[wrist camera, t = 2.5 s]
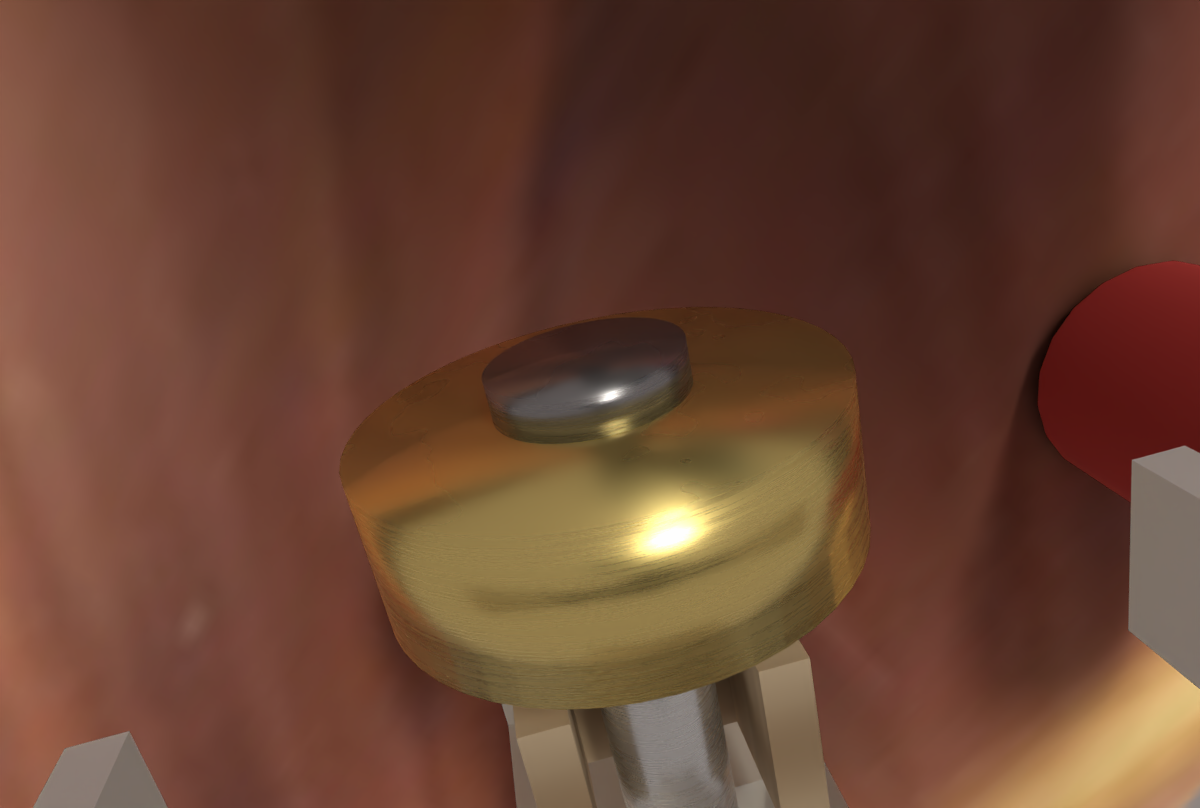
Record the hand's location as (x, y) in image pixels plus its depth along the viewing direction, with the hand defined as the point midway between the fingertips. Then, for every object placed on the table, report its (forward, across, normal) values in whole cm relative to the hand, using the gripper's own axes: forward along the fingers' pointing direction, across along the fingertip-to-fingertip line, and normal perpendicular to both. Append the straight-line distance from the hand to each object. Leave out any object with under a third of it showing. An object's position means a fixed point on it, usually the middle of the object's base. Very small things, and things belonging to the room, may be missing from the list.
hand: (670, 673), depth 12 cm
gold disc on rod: (+10, 0, -6) cm, 12 cm away
